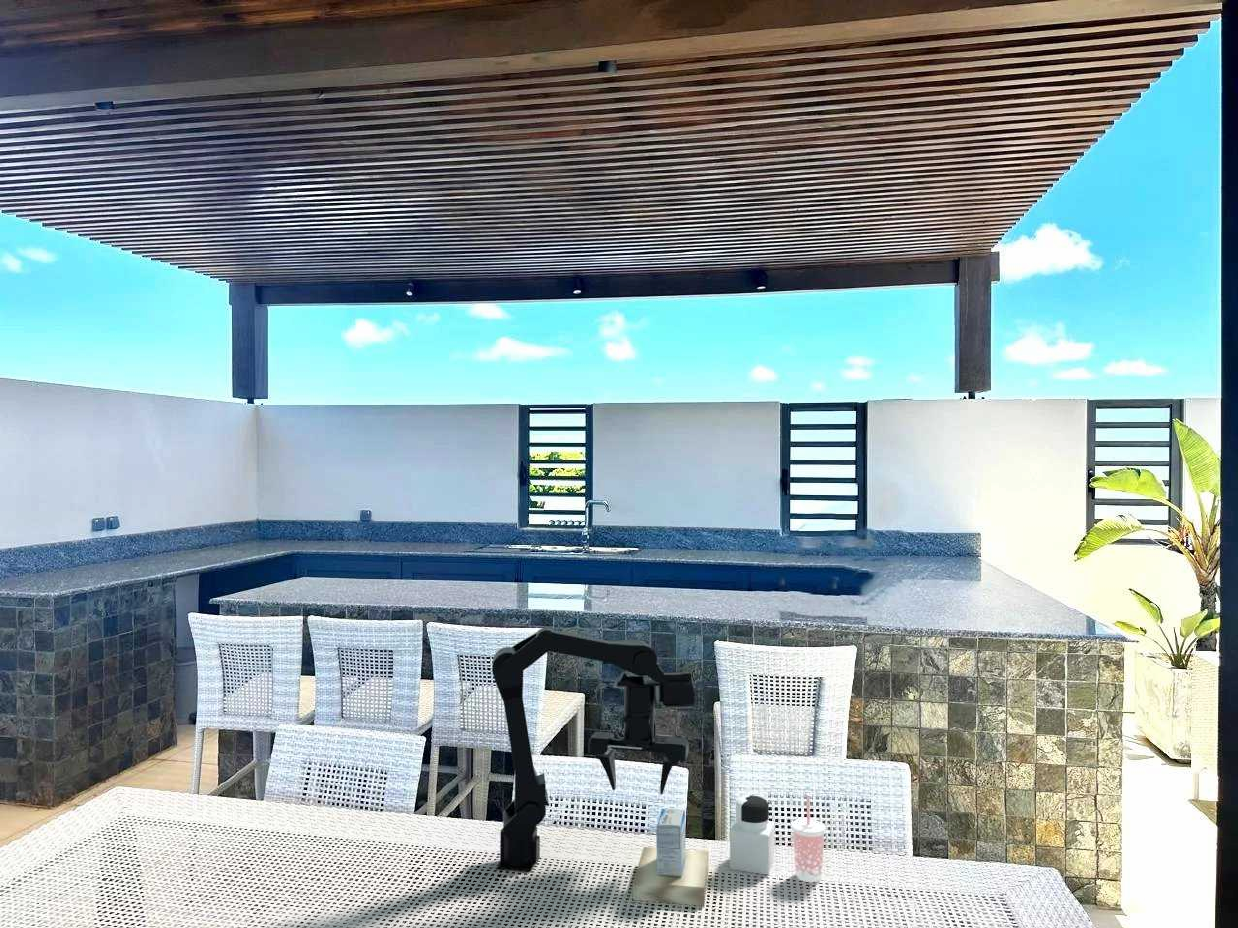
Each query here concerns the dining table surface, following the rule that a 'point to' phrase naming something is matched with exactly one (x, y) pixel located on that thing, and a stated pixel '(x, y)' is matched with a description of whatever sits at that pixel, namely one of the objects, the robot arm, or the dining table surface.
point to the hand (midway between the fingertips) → (637, 791)
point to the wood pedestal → (672, 880)
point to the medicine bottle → (752, 836)
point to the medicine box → (671, 842)
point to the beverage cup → (808, 847)
